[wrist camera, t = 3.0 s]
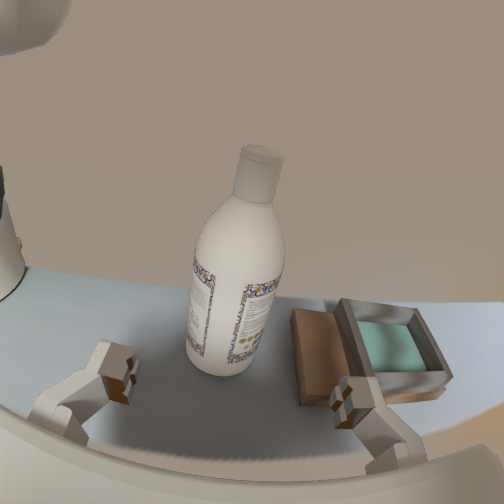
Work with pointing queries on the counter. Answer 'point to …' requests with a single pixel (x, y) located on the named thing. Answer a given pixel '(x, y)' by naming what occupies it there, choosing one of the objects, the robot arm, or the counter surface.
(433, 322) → the counter surface
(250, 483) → the robot arm
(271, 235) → the bath foam
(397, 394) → the tray
